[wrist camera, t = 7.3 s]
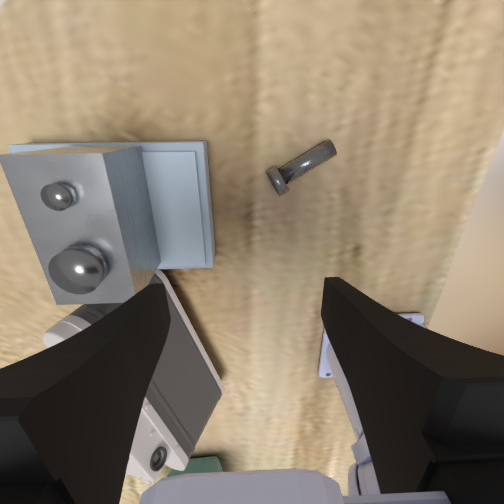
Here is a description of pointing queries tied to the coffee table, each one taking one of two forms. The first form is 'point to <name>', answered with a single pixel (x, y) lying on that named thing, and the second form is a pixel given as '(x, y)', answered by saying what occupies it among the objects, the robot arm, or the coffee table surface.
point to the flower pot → (199, 466)
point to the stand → (171, 197)
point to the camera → (162, 388)
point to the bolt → (300, 166)
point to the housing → (87, 219)
